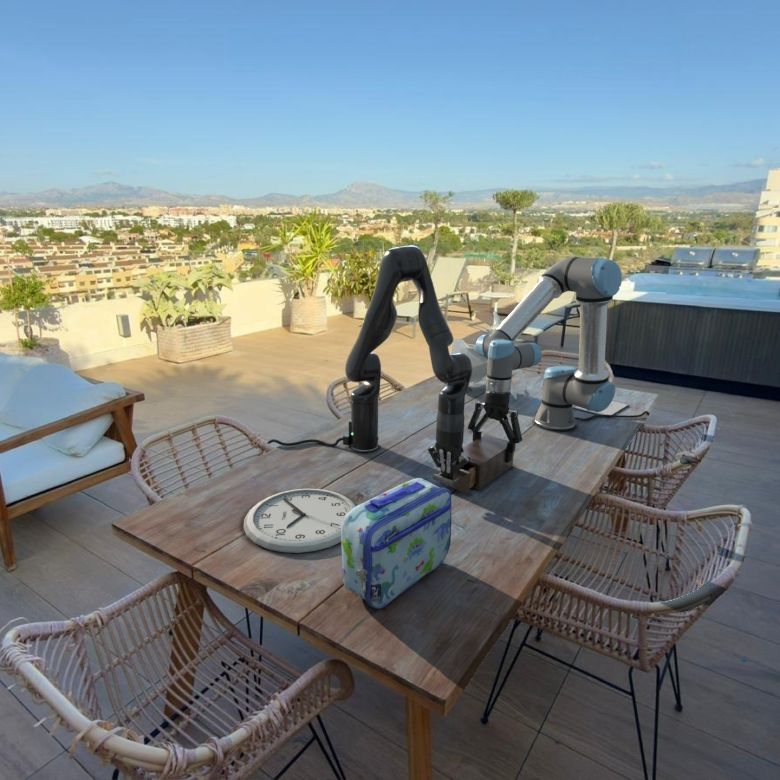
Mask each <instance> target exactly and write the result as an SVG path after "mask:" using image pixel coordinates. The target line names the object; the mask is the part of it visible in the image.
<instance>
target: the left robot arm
mask: <svg viewBox="0 0 780 780" xmlns="http://www.w3.org/2000/svg"><path fill="white" fill-rule="evenodd" d="M410 281H412V283H413V285H414V287H415V288H416V291H417V295H418V309H417V310H418V311H417V313H418V314H417V321H418V325H419V328H420V331H421V332H422V335H423V337H424V340H425V342H426V344H427V346H428V350H429V357H430V362H431V363H430V364H431V367H432V371H433V374H434V376H435V377H436V378H437V379H438V380H439V381H440V382H441V383H442V384H444V383H448V384H447V385H445V386H444V387H443V388H442V389H441V390H440V391H439V393H438V400H437V401H438V402H437V414H436V424H435V425H436V427H435V431H436V432H435V443H434V445H432V446H430V447H429V448H427V451H428V454H429V455H430V458H432V461H433V463H434V465H435V467H437V468H439V469H440V471H441V470H442V477H445V478H447V479H450V480H453V473H456V472H457V471H459V470H460V469H461V468H462V467H463V466H464V465H465V464H466V463H468V462H469V461H470V457H466V456H465V455H464V453H463V448H462V447H463V443H464V437H465V436H464V434H465V433H464V432H465V402H466V401H465V400H466V394H467V392H468V388H469V385H470V383H471V382H470V379H471V375H472V364H471V361H470V359H469V357H468V356H467V355H466V354H464V353H456V354H452V355H451V353H450V351H449V349H450V348H449V347H450V346H451V345H453V344H454V339H455V338H454V336H453V333H452V331H451V328H450V327H449V324H448V322H447V320H446V318H445V316H444V313H443V311H442V309H441V306H440V303H439V301H438V297H437V293H436V290H435V286H434V282H433V279H432V275H431V272H430V268H429V264H428V262H427V258H426V257H425V254H424V252H423V250H421V248H419V246H416V245H405V246H398V247H391V248H389V249H387V250H386V251H385V252H384V254H383V255H382V258H381V261H380V264H379V268H378V273H377V278H376V281H375V286H374V288H373V289H374V290H373V293H372V297H371V298H370V302H369V304H368V307H367V310H366V312H365V314H364V318H363V320H362V324H361V327H360V330H359V333H358V335H357V338H356V340H355V341H354V344H353V346H352V348H351V350H350V351H349V354H348V355H347V358H346V362H345V366H344V370H345V371H344V372H345V376H346V379H347V380H349V382H352V383H362V384H361V385H359V386H358V387H356V388H355V389H353V390H352V391H351V392H350V420H349V421H348V432H347V433H345V434H344V435H343V436H342V437H338V438H337V439H336V440H335V441H334V442H333V443H328V442H325V441H323V440H320V439H313V438H312V439H304V440H298V441H294V442H282V441H280V440H278V439H275V438H273V439H269V440H268V441H267V442H266V444H268V445H269V444H272V443H275V444H278V445H280V446H283V447H284V446H285V447H292V446H298V445H302V444H306V443H317V444H319V445H320V444H321V445H323V446H326V447H336V446H338V444H339V442H342V445H344V446H348V449H351V450H352V451H353V452H354V451H355V452H358V453H373V452H374V451H376V450H378V449H379V396H380V392H381V380H382V379H381V376H382V362H381V359H380V356H379V355H378V354H377V353H376V352H375V350H377V348H379V347H380V346H381V345H382V344H384V343H385V341H387V339H388V338H389V337H390V336H391V335H392V332H393V330H394V327H395V326H396V323H397V320H398V309H397V306H396V304H395V301H394V296H395V293H396V290H397V288H398V286H399V284H401V283H404V282H410ZM459 457H460V459H459V462H460V463H459V464H457V465H456V466H455V464H456V462H457V459H458V458H459Z"/></svg>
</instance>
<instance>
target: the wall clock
mask: <svg viewBox="0 0 780 780" xmlns="http://www.w3.org/2000/svg"><path fill="white" fill-rule="evenodd" d="M356 506H357V504H356V503H355V502H354V501H353V500H351V499H350V498H348V497H347V496H345V495H344V494H341V493H338V492H335V491H332V490H327V489H322V488H299V489H298V488H297V489H291V490H286V491H281V492H278V493H275V494H273V495H269V496H268V497H266V498H264V499H262V500H260V501H259V502H257V503H256V504H255V505H253V506H252V508H250V509H249V510H248V511H247V513H246V515H245V517H244V519H243V530H244V532H245V535H246V537H247V538H248V539H249V540H251V542H252V543H254V545H255V544H256V545H257V546H260V547H262V548H264V549H266V550H270V551H274V552H280V553H294V554H295V553H296V554H300V553H310V552H317V551H320V550H324V549H328V548H331V547H333V546H335V545H337V544H339V543H340V544H341V528H342V523H343V520H344V518H345V517H346V515H347V514H348V512H349V511H350V510H351V509H353V508H354V507H356Z"/></svg>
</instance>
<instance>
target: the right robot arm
mask: <svg viewBox="0 0 780 780" xmlns="http://www.w3.org/2000/svg"><path fill="white" fill-rule="evenodd" d="M536 283H537V284H536V285H535V286H534V287H533V288H532V289H531V290H530V291H529V292H528V294H527V295H526V296H525V297H523V299H522V300H521V301H520V302H519V303H518V304H517V306H515V308H514V309H513V310H512V311H511V312H510V313H509V314H508V315H507V316H506V317H505V318H504V319H503V321H501V324H500V325H499V326H498V327H497V326H496V328H495V329H494V330H493V332H491V333H490V334H483V335H480V336H479V337H478V338H477V340H476V342H475V345H474V346H475V348H476V351H477V353H478V354H479V355H480V356H482V357H485V358H487V359H488V364H487V375H486V379H485V389H486V390H485V393H484V402H482V401H478V402H475V406H474V411H473V414H472V416H471V417H470V420H469V423H468V425H467V429H468V430H469V431H471V432H472V442H473V441H475V440H476V439H478V438H480V437H482V431H481V429H482V427H483V426H484V425H485V424H486V423H487V421H488V420H489V419H491V420H495V421H498V422H499V424H500V425H501V426H502V429H503V430H504V433H505V435H506V437H507V439H508V440H507V441H509V442H508V443H507V451H506V461H505V462H506V463H508V462H510V461H511V460H512V453H513V452H514V453H515V451H516V446H517V445H516V444H519V443H521V442H522V441H523V436H522V431H521V427H520V421H519V411H518V409H516V410H512V409H510V407H509V406H510V399H511V392H510V390H511V378H512V379H513V371H515V370H516V371H517V369H521V368H522V369H526V368H531V367H534V366H537V365H538V364H540V363H541V360H542V357H543V352H542V349H541V347H540V345H538V343H535V342H525V343H522V342H519V341H517V340H518V339H519V337H520V336H521V335H522V334H523V333H524V332H525V331H526V330H527V329H528V328H529V327H530V325H531V324H532V323H533V322H534V321H535V320H536V319H537V318H538V317H539V316H540V314H541V313H542V312H543V311H544V310H545V309H547V307H548V306H549V305H550V304H551V302H552V301H553V300H554V299H559V298H560V297H561V296H562V295H563V294H564V293H567V292H574V293H575V301H576V302H577V303H578V304H579V305H580V307H579V308H580V309H579V310H580V312H579V341H578V342H579V345H578V368H577V367H575V366H571V365H570V366H569V365H557V366H556V365H555V366H550V367H547V368H546V369H545V371H544V375H543V378H542V379H543V381H542V394H541V402H540V405H539V407H538V410H537V411H534V412H533V416H534V424H535V425H536V426H537V427H539V428H542V429H544V430H549V431H556V432H567V431H572V430H574V429H575V428H576V420H577V421H584V422H585V421H590V420H592V419H595V418H599V417H600V418H602V417H604V418H621V419H623V418H624V419H625V418H626V419H627V418H628V419H629V418H630V419H631V418H640V417H643V416H644V415H650V412H649V411H648V410H645V411H643V412H641V413H640V414H635V415H634V414H633V415H628V414H627V415H625V414H624V415H622V414H621V415H619V414H616V415H615V414H613V415H600V414H594V415H591V416H589V417H586V418H584V417H577V416H575V413H574V407H576V406H578V407H581V408H584V409H587V410H589V411H594V412H601V411H603V410H605V409H606V408H607V407H608V406H609V405H610V403H611V402H612V401H614V397H615V394H616V386H615V384H614V383H613V382H611V381H610V380H609V378H610V375H609V372H608V371H607V370H606V367H605V365H606V364H605V363H606V345H607V343H606V342H607V326H608V325H607V324H608V304H609V303H610V302H611V301H613V300H614V296H616V294H618V293H619V291H620V287H621V286H622V283H623V274H622V270H621V267H620V265H619V264H618V263H617V262H616V261H615V260H613V259H607V258H603V257H584V256H583V257H581V256H571V257H570V256H569V257H566V258H563V259H561V260H559V261H557V262H556V263H554V264H552V266H550V267H549V268H548V269H546V270H545V271H544V272H543V273H542V274H541V275H540V276H539V277H538V279H537V281H536ZM573 406H574V407H573ZM483 409H484V411H485V413H484V414H483V415H482V417H481V419H480V420H479V417H480V416H481V413H482V410H483ZM508 416H509V417H508ZM509 418H510V419H509ZM478 420H479V421H478Z"/></svg>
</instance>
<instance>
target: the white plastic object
mask: <svg viewBox="0 0 780 780" xmlns="http://www.w3.org/2000/svg"><path fill="white" fill-rule="evenodd" d="M492 315H493V319H494V321H495V324H496V325H495V326H496V328H497V327H498V326H499V325H500V324H501V323H502V321H501V318H500V315H499V314H498V312H497V311H496V310H495V311H492ZM453 339H454V340H453V343H452V349H451V353H450V355H452V354H456V353H464V354H466V355H467V356H468V357H469V359H470V361H471V364H472V375H471V379H470V382H469V383H473V384H477V383H480V382H482V381H484V378H485V377H487V364H488V359H487V358H485V357H482V356H480V355H479V354H478V353H477V351H476V348H475V346H476V345H473V346H469V345H468V343H466V342H465V340H464V339H463V338H460V339H458V338H453ZM516 372H517V376H518V380H519V382H520V385H521V389H522V391H523V393H524V395H525V396H526V397H528V396H531V395H530V390H529V388H528V387H529V386H528V384H527V381H526V378H525V375H524V371H523V368H521V369H516ZM443 384H444V385H445V386H446V385H447V384H448V383H443ZM516 391H517V390H516V388H515V385H514V381H513V377H512V378H511V390H510V391H509V392H510V395H512V397H513V398H514V399H515V400H517V392H516Z"/></svg>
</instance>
